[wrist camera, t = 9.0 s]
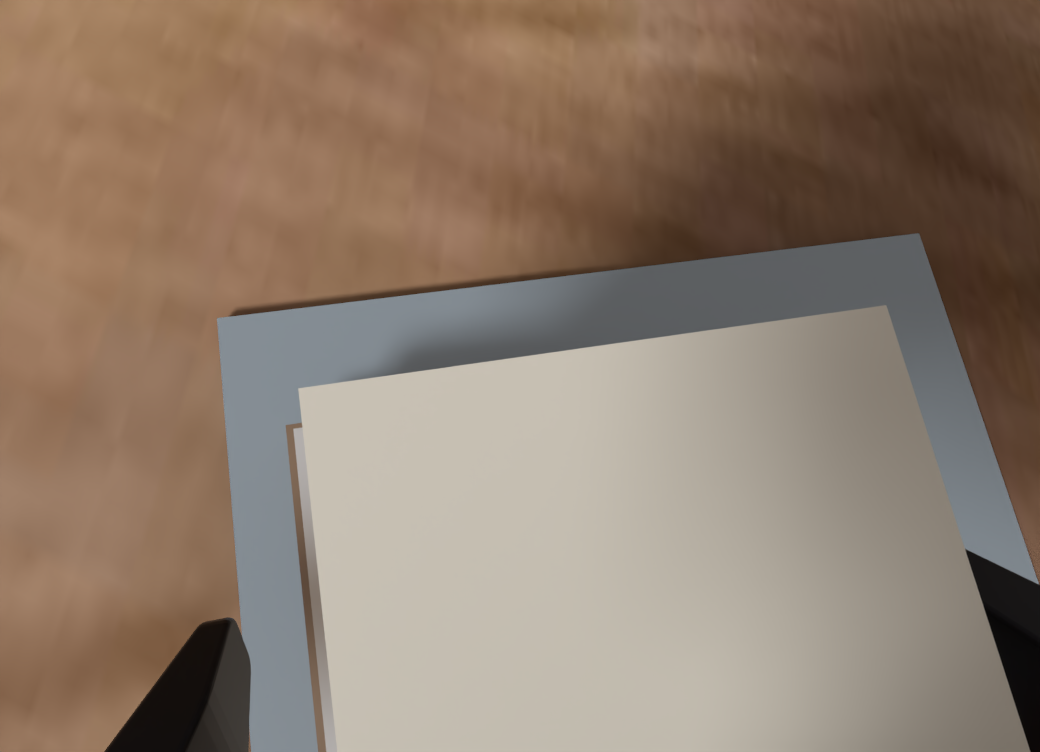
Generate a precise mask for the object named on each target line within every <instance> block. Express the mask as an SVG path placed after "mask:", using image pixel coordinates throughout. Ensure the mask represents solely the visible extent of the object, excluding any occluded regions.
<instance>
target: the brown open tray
mask: <svg viewBox="0 0 1040 752" xmlns="http://www.w3.org/2000/svg"><path fill="white" fill-rule="evenodd" d="M286 435H287V445H288V455H289V465H290V475H291V485H292V495H293V505H294V515H295V525H296V535H297V545H298V555H299V565H300V575H301V585H302V595H303V605H304V615H305V625H306V635H307V645H308V655H309V665H310V675H311V685H312V695H313V705H314V715H315V725H316V735H317V745H318V752H337V745H336V736H335V726H334V717H333V708H332V698H331V689H330V680H329V670H328V661H327V652H326V643H325V633H324V624H323V615H322V605H321V596H320V587H319V577H318V568H317V559H316V549H315V540H314V531H313V521H312V512H311V503H310V493H309V484H308V475H307V465H306V456H305V447H304V437H303V428H302V423H296V424H290V425H286Z"/></svg>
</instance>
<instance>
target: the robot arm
mask: <svg viewBox="0 0 1040 752" xmlns="http://www.w3.org/2000/svg"><path fill="white" fill-rule="evenodd" d="M965 551H966V554H967V557H968V560H969V563H970V566H971V569H972V572H973V575H974V578H975V582H976V585H977V588H978V591H979V594H980V597H981V600H982V603H983V606H984V609H985V613H986V616H987V619H988V622H989V625H990V628H991V631H992V634H993V637H994V640H995V644H996V647H997V650H998V653H999V656H1000V659H1001V662H1002V665H1003V668H1004V671H1005V675H1006V678H1007V681H1008V684H1009V687H1010V690H1011V693H1012V696H1013V699H1014V702H1015V706H1016V709H1017V712H1018V715H1019V718H1020V721H1021V724H1022V727H1023V730H1024V733H1025V737H1026V740H1027V743H1028V746H1029V749H1030V752H1040V585H1039V584H1037V583H1035V582H1033V581H1031V580H1028V579H1026V578H1024V577H1022V576H1020V575H1018V574H1016V573H1014V572H1012V571H1010V570H1008V569H1006V568H1004V567H1002V566H1000V565H998V564H995V563H993V562H991V561H989V560H987V559H985V558H983V557H981V556H979V555H977V554H975V553H973V552H971V551H969V550H967V549H965ZM250 687H251V664H250V657H249V654H248V651H247V648H246V646H245V643H244V641H243V638H242V635H241V633H240V630H239V628H238V625H237V623H236V621H235V620H234V619H233V618H223V619H217V620H212V621H207V622H204V623H202V624H200V625H199V626H198V627H197V628H196V630H195V631H194V632H193V634H192V635H191V636H190V638H189V639H188V640H187V642H186V643H185V644H184V646H183V647H182V648H181V650H180V651H179V652H178V654H177V655H176V656H175V658H174V659H173V660H172V662H171V663H170V664H169V666H168V667H167V668H166V670H165V671H164V672H163V674H162V675H161V676H160V678H159V679H158V681H157V682H156V683H155V685H154V686H153V687H152V689H151V690H150V691H149V693H148V694H147V695H146V697H145V698H144V699H143V701H142V702H141V703H140V705H139V706H138V707H137V709H136V710H135V711H134V713H133V714H132V715H131V717H130V718H129V719H128V721H127V722H126V723H125V725H124V726H123V727H122V729H121V730H120V731H119V733H118V734H117V735H116V737H115V738H114V739H113V741H112V742H111V743H110V745H109V746H108V747H107V749H106V750H105V752H248V742H249V714H250Z"/></svg>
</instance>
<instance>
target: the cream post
mask: <svg viewBox="0 0 1040 752" xmlns="http://www.w3.org/2000/svg"><path fill="white" fill-rule="evenodd" d="M298 391H299V400H300V409H301V419H302V428H303V437H304V447H305V456H306V465H307V475H308V484H309V493H310V503H311V512H312V521H313V531H314V540H315V549H316V559H317V568H318V577H319V587H320V596H321V605H322V615H323V624H324V633H325V643H326V652H327V661H328V670H329V680H330V689H331V698H332V708H333V717H334V726H335V736H336V745H337V752H1030V749H1029V746H1028V743H1027V740H1026V737H1025V733H1024V730H1023V727H1022V724H1021V721H1020V718H1019V715H1018V712H1017V709H1016V706H1015V702H1014V699H1013V696H1012V693H1011V690H1010V687H1009V684H1008V681H1007V678H1006V675H1005V671H1004V668H1003V665H1002V662H1001V659H1000V656H999V653H998V650H997V647H996V644H995V640H994V637H993V634H992V631H991V628H990V625H989V622H988V619H987V616H986V613H985V609H984V606H983V603H982V600H981V597H980V594H979V591H978V588H977V585H976V582H975V578H974V575H973V572H972V569H971V566H970V563H969V560H968V557H967V554H966V551H965V547H964V544H963V541H962V538H961V535H960V532H959V529H958V526H957V523H956V520H955V516H954V513H953V510H952V507H951V504H950V501H949V498H948V495H947V492H946V489H945V485H944V482H943V479H942V476H941V473H940V470H939V467H938V464H937V461H936V458H935V454H934V451H933V448H932V445H931V442H930V439H929V436H928V433H927V430H926V427H925V423H924V420H923V417H922V414H921V411H920V408H919V405H918V402H917V399H916V396H915V393H914V389H913V386H912V383H911V380H910V377H909V374H908V371H907V368H906V365H905V362H904V358H903V355H902V352H901V349H900V346H899V343H898V340H897V337H896V334H895V331H894V327H893V324H892V321H891V318H890V315H889V312H888V309H887V306H886V305H884V306H877V307H870V308H862V309H855V310H848V311H841V312H834V313H827V314H820V315H813V316H806V317H799V318H792V319H785V320H778V321H771V322H764V323H756V324H749V325H742V326H735V327H728V328H721V329H714V330H707V331H700V332H693V333H686V334H679V335H672V336H665V337H658V338H651V339H643V340H636V341H629V342H622V343H615V344H608V345H601V346H594V347H587V348H580V349H573V350H566V351H559V352H552V353H545V354H537V355H530V356H523V357H516V358H509V359H502V360H495V361H488V362H481V363H474V364H467V365H460V366H453V367H446V368H439V369H432V370H424V371H417V372H410V373H403V374H396V375H389V376H382V377H375V378H368V379H361V380H354V381H347V382H340V383H333V384H326V385H318V386H311V387H304V388H298Z"/></svg>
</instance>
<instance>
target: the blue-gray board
mask: <svg viewBox="0 0 1040 752" xmlns="http://www.w3.org/2000/svg"><path fill="white" fill-rule="evenodd" d="M884 305H886V306H887V309H888V312H889V315H890V318H891V321H892V324H893V327H894V331H895V334H896V337H897V340H898V343H899V346H900V349H901V352H902V355H903V358H904V362H905V365H906V368H907V371H908V374H909V377H910V380H911V383H912V386H913V389H914V393H915V396H916V399H917V402H918V405H919V408H920V411H921V414H922V417H923V420H924V423H925V427H926V430H927V433H928V436H929V439H930V442H931V445H932V448H933V451H934V454H935V458H936V461H937V464H938V467H939V470H940V473H941V476H942V479H943V482H944V485H945V489H946V492H947V495H948V498H949V501H950V504H951V507H952V510H953V513H954V516H955V520H956V523H957V526H958V529H959V532H960V535H961V538H962V541H963V544H964V547H965V549H967V550H969V551H971V552H973V553H975V554H977V555H979V556H981V557H983V558H985V559H987V560H989V561H991V562H993V563H995V564H998V565H1000V566H1002V567H1004V568H1006V569H1008V570H1010V571H1012V572H1014V573H1016V574H1018V575H1020V576H1022V577H1024V578H1026V579H1028V580H1031V581H1033V582H1035V583H1037V584H1039V583H1038V580H1037V577H1036V574H1035V571H1034V568H1033V565H1032V562H1031V560H1030V557H1029V554H1028V551H1027V548H1026V545H1025V542H1024V539H1023V536H1022V533H1021V530H1020V527H1019V524H1018V521H1017V519H1016V516H1015V513H1014V510H1013V507H1012V504H1011V501H1010V498H1009V495H1008V492H1007V489H1006V486H1005V483H1004V481H1003V478H1002V475H1001V472H1000V469H999V466H998V463H997V460H996V457H995V454H994V451H993V448H992V445H991V442H990V440H989V437H988V434H987V431H986V428H985V425H984V422H983V419H982V416H981V413H980V410H979V407H978V404H977V401H976V399H975V396H974V393H973V390H972V387H971V384H970V381H969V378H968V375H967V372H966V369H965V366H964V363H963V361H962V358H961V355H960V352H959V349H958V346H957V343H956V340H955V337H954V334H953V331H952V328H951V325H950V322H949V320H948V317H947V314H946V311H945V308H944V305H943V302H942V299H941V296H940V293H939V290H938V287H937V284H936V282H935V279H934V276H933V273H932V270H931V267H930V264H929V261H928V258H927V255H926V252H925V249H924V246H923V243H922V241H921V238H920V235H919V233H916V234H908V235H900V236H892V237H883V238H875V239H867V240H859V241H850V242H842V243H834V244H826V245H817V246H809V247H801V248H793V249H784V250H776V251H768V252H760V253H751V254H743V255H735V256H727V257H718V258H710V259H702V260H694V261H685V262H677V263H669V264H661V265H652V266H644V267H636V268H628V269H619V270H611V271H603V272H595V273H586V274H578V275H570V276H562V277H553V278H545V279H537V280H529V281H520V282H512V283H504V284H496V285H487V286H479V287H471V288H463V289H454V290H446V291H438V292H430V293H421V294H413V295H405V296H397V297H388V298H380V299H372V300H364V301H355V302H347V303H339V304H331V305H322V306H314V307H306V308H298V309H289V310H281V311H273V312H265V313H256V314H248V315H240V316H232V317H223V318H217V323H218V336H219V348H220V361H221V374H222V386H223V399H224V412H225V424H226V437H227V450H228V462H229V475H230V487H231V500H232V513H233V525H234V538H235V551H236V563H237V576H238V589H239V601H240V614H241V627H242V638H243V641H244V643H245V646H246V648H247V651H248V654H249V657H250V664H251V687H250V714H249V728H250V741H251V752H318V745H317V735H316V725H315V715H314V705H313V695H312V685H311V675H310V665H309V655H308V645H307V635H306V625H305V615H304V605H303V595H302V585H301V575H300V565H299V555H298V545H297V535H296V525H295V515H294V505H293V495H292V485H291V475H290V465H289V455H288V445H287V435H286V425H290V424H296V423H302V419H301V409H300V400H299V391H298V388H304V387H311V386H318V385H326V384H333V383H340V382H347V381H354V380H361V379H368V378H375V377H382V376H389V375H396V374H403V373H410V372H417V371H424V370H432V369H439V368H446V367H453V366H460V365H467V364H474V363H481V362H488V361H495V360H502V359H509V358H516V357H523V356H530V355H537V354H545V353H552V352H559V351H566V350H573V349H580V348H587V347H594V346H601V345H608V344H615V343H622V342H629V341H636V340H643V339H651V338H658V337H665V336H672V335H679V334H686V333H693V332H700V331H707V330H714V329H721V328H728V327H735V326H742V325H749V324H756V323H764V322H771V321H778V320H785V319H792V318H799V317H806V316H813V315H820V314H827V313H834V312H841V311H848V310H855V309H862V308H870V307H877V306H884Z"/></svg>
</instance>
